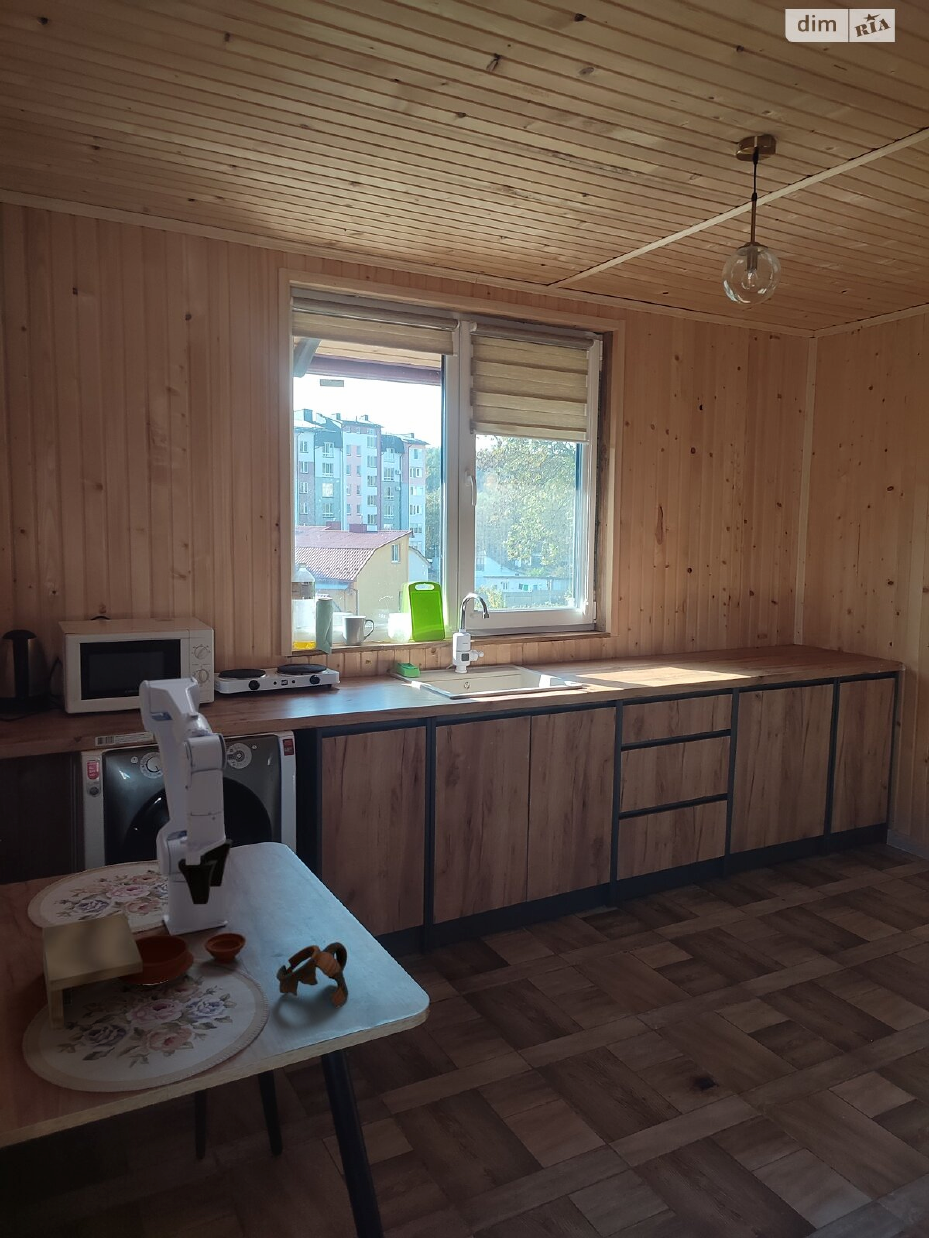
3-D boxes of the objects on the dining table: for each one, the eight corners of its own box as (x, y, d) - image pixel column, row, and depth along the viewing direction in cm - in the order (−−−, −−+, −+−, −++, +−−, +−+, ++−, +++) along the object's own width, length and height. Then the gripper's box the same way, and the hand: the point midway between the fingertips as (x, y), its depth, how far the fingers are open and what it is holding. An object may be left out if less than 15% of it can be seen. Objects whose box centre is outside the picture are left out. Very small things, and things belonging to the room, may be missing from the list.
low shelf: (126, 954, 143) (124, 912, 142) (143, 1007, 127) (142, 961, 127) (43, 971, 137) (42, 928, 137) (51, 1029, 122) (49, 980, 121)
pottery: (107, 969, 139) (107, 942, 138) (235, 940, 149) (234, 915, 148) (120, 1004, 129) (119, 975, 128) (256, 971, 139) (255, 944, 138)
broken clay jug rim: (332, 1023, 125) (301, 975, 124) (287, 1032, 130) (258, 987, 129) (373, 965, 135) (346, 921, 134) (331, 976, 140) (303, 933, 139)
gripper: (193, 799, 149) (196, 878, 150) (164, 824, 134) (167, 912, 135) (235, 798, 149) (238, 878, 150) (210, 823, 134) (213, 911, 135)
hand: (207, 894), depth 142 cm, fingers open, 7 cm apart
